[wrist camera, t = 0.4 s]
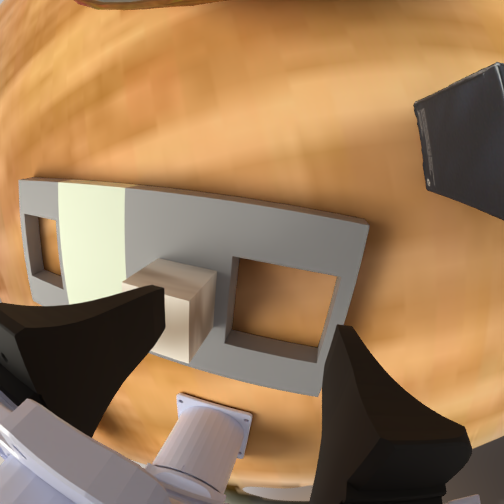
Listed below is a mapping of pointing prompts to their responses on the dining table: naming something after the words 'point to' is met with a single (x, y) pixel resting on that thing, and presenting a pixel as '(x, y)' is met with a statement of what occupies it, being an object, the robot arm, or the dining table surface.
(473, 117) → the small box
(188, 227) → the plate
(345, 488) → the robot arm
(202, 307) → the block
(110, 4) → the bowl
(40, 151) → the dining table surface
